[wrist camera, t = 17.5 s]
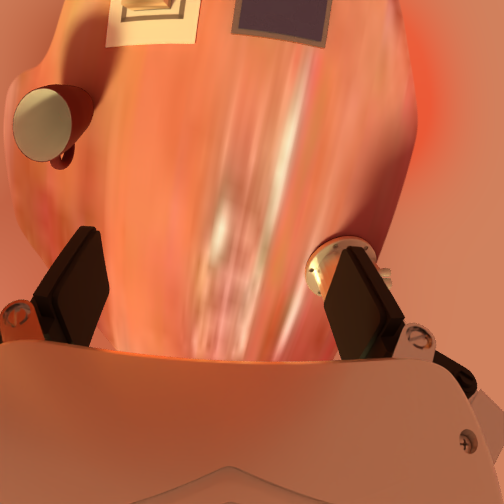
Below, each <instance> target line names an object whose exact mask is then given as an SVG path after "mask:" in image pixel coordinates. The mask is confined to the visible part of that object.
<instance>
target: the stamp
mask: <svg viewBox="0 0 504 504" xmlns="http://www.w3.org/2000/svg"><path fill="white" fill-rule="evenodd" d="M121 5H122V6H124V7H126V8H128V9H130V10H132V11H144V10H162V9H171V5H172V0H122V1H121Z"/></svg>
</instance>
